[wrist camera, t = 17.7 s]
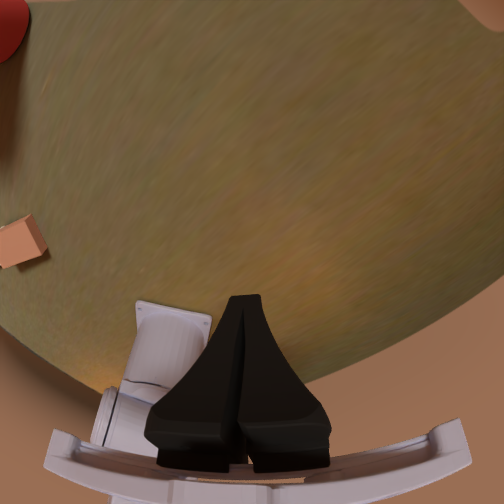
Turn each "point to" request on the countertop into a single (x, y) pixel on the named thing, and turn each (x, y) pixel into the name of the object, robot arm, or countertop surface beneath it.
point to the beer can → (12, 26)
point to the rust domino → (20, 242)
